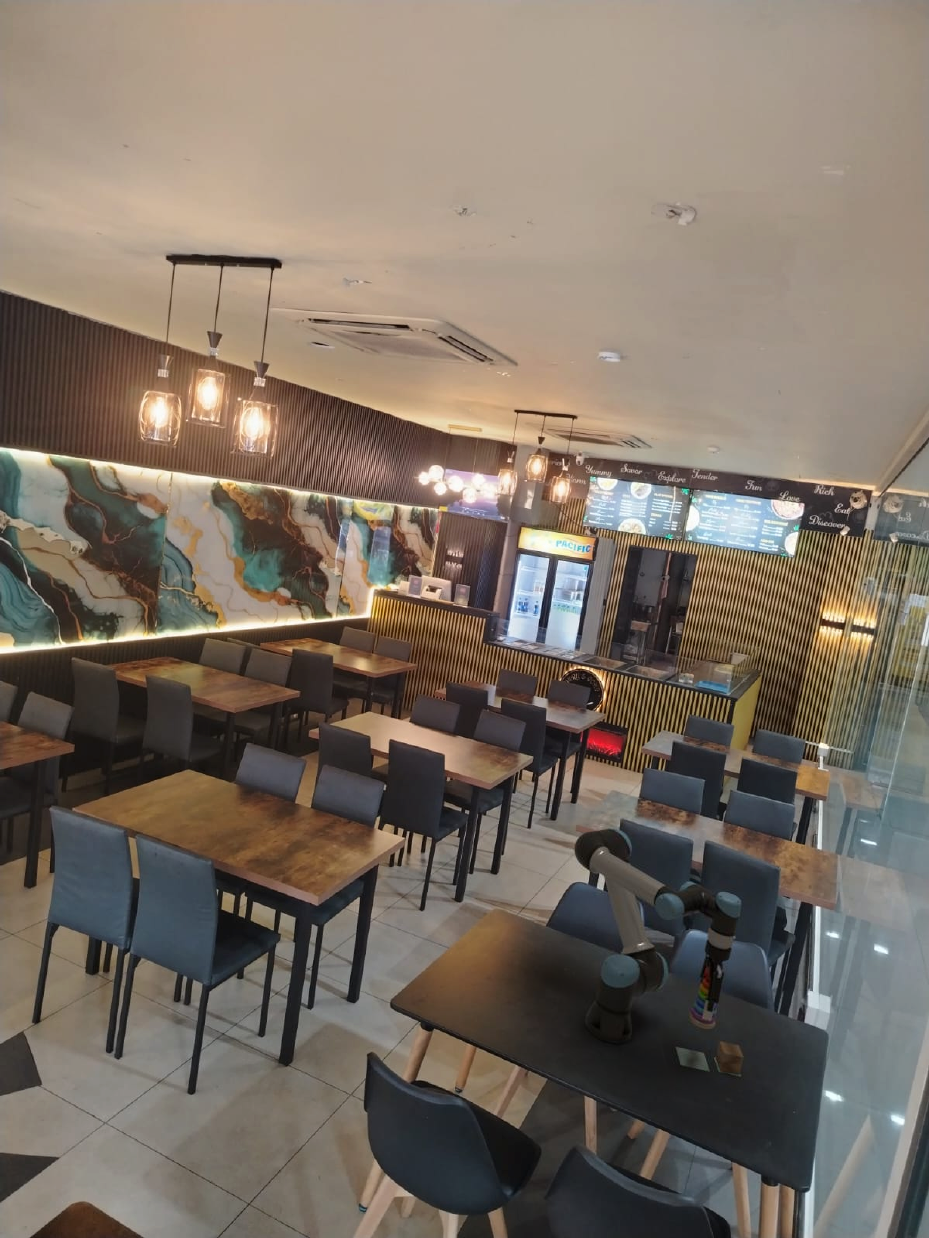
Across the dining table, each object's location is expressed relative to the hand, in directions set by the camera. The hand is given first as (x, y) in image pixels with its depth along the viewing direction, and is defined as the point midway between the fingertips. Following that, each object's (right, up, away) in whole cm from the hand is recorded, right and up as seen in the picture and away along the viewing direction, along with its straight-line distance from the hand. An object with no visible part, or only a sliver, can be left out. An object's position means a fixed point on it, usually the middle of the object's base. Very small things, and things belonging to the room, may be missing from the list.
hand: (703, 1011), depth 250 cm
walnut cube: (+8, -18, +1) cm, 20 cm away
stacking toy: (-1, -4, 0) cm, 4 cm away
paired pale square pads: (+1, -18, +2) cm, 18 cm away
